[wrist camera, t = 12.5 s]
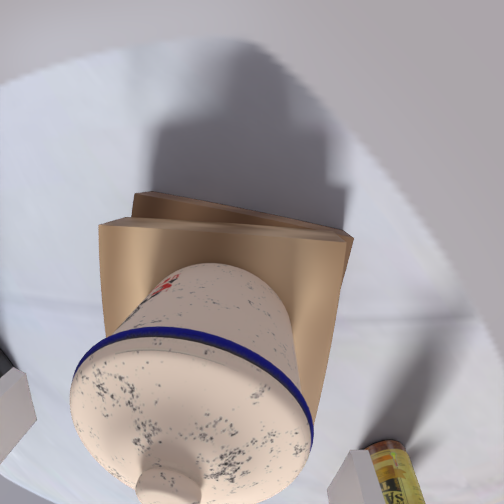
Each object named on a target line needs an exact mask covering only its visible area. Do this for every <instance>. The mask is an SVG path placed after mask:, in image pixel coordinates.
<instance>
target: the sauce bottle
mask: <svg viewBox="0 0 504 504" xmlns="http://www.w3.org/2000/svg"><path fill="white" fill-rule="evenodd" d="M364 450H368V451H369V454H370V457H371V460H372V463H373V466H374V469H375V472H376V475H377V478H378V481H379V484H380V487H381V491H382V494H383V497H384V500H385V503H386V504H425V501H424V498H423V495H422V492H421V489H420V486H419V483H418V480H417V477H416V475H415V472H414V469H413V466H412V463H411V461H410V458H409V455H408V454H407V452H406V450H405V448H404V447H403V445H402V444H401V443H400V442H398V441H394V440H386V441H385V440H384V441H381V442H378V443H375V444H372V445H370V446H369V447H367V448H365V449H364Z"/></svg>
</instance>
